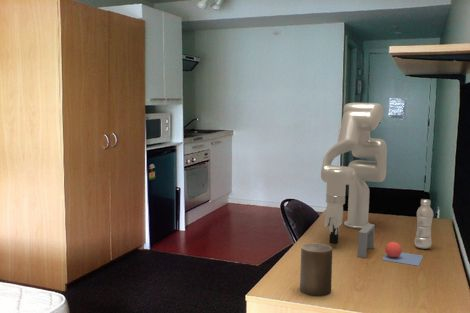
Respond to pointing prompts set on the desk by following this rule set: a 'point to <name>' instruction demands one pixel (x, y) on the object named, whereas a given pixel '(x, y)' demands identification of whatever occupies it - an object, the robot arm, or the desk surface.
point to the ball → (393, 249)
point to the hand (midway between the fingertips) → (333, 243)
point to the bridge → (365, 240)
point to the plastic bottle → (424, 225)
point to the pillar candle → (316, 269)
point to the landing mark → (405, 259)
